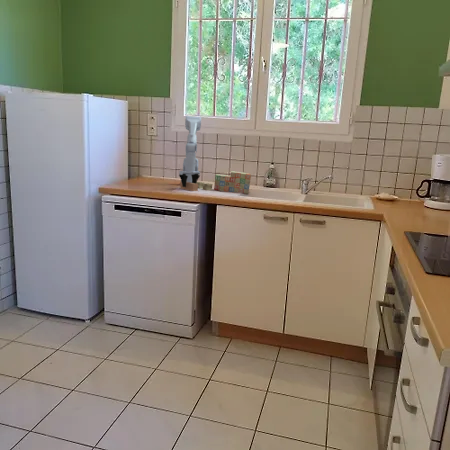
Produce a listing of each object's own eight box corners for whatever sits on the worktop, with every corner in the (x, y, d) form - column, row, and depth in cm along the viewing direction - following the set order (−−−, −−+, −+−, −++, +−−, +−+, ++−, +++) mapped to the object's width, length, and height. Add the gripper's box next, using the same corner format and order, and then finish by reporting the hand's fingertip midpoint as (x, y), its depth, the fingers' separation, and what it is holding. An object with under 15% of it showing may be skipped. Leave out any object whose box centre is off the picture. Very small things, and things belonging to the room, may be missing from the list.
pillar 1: (195, 187, 269) (195, 181, 268) (199, 187, 272) (200, 181, 271) (199, 188, 266) (199, 182, 265) (204, 188, 269) (204, 182, 268)
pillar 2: (202, 189, 264) (203, 183, 263) (207, 188, 267) (207, 183, 266) (207, 190, 261) (207, 184, 261) (211, 189, 264) (212, 184, 264)
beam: (180, 188, 261) (180, 181, 260) (184, 187, 263) (184, 181, 263) (193, 190, 253) (193, 184, 252) (197, 190, 255) (198, 184, 254)
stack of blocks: (213, 190, 263) (215, 169, 261) (214, 188, 269) (216, 169, 267) (248, 194, 262) (251, 174, 259) (248, 193, 268) (251, 173, 265)
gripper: (185, 164, 247) (184, 187, 250) (203, 164, 257) (202, 187, 260) (177, 163, 252) (176, 186, 255) (196, 163, 262) (194, 185, 265)
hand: (188, 186), depth 258 cm, fingers open, 7 cm apart
